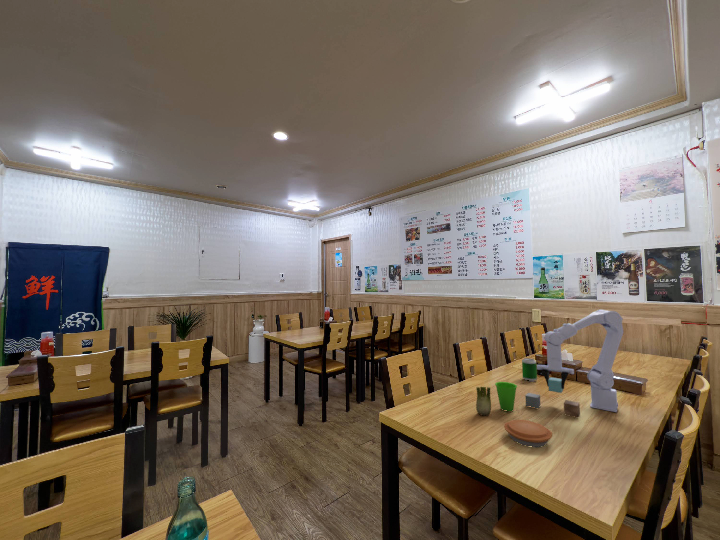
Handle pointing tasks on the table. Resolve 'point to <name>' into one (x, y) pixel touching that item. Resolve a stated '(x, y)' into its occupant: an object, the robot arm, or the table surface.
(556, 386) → the teal block
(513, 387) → the cup
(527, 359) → the soda can
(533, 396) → the charcoal block
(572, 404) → the walnut block
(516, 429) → the pie
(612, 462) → the table surface
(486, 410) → the fennel bulb
